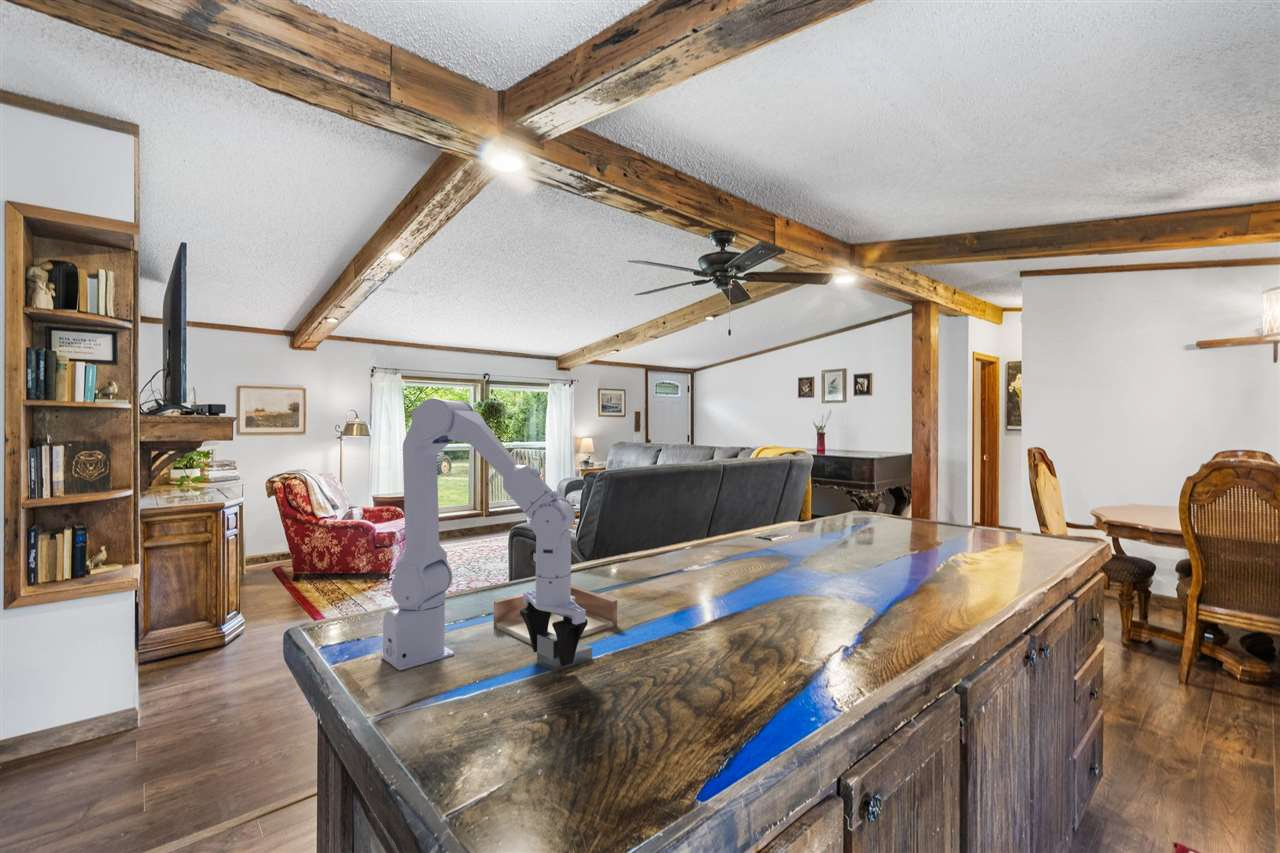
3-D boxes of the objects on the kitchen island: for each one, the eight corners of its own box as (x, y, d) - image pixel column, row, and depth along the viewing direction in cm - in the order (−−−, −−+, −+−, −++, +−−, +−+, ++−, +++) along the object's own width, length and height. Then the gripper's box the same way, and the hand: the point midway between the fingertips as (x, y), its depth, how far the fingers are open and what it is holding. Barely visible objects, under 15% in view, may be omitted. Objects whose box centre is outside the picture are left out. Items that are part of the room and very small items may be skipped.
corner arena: (540, 649, 102) (541, 621, 102) (493, 626, 113) (493, 601, 113) (617, 625, 114) (617, 600, 114) (567, 607, 126) (567, 584, 126)
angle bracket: (553, 672, 92) (553, 641, 92) (537, 664, 95) (537, 634, 95) (592, 659, 98) (592, 629, 98) (575, 651, 101) (575, 623, 101)
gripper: (600, 578, 92) (600, 663, 92) (547, 562, 103) (547, 638, 103) (565, 586, 87) (564, 676, 87) (513, 569, 98) (512, 649, 98)
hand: (552, 656), depth 95 cm, fingers open, 7 cm apart
